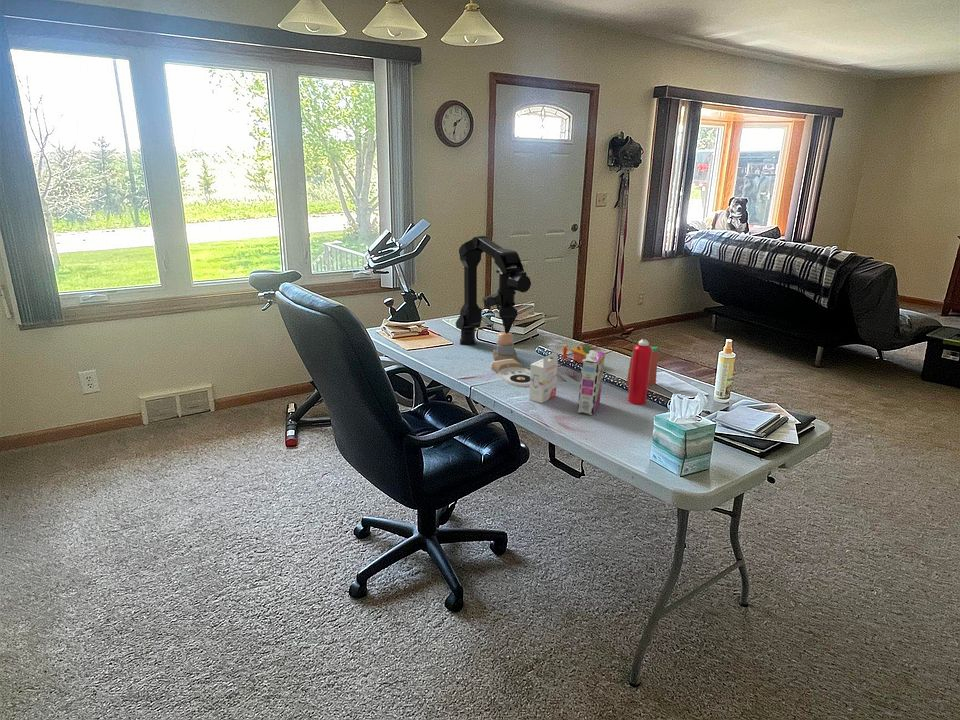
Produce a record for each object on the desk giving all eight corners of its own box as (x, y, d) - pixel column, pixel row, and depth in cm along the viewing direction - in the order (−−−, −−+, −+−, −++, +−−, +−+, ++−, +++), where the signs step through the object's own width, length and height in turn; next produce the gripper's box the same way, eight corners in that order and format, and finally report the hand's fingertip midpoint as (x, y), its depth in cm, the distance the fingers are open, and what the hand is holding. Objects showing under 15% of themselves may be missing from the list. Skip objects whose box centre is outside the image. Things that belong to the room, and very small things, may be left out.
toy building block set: (630, 391, 186) (634, 350, 181) (557, 361, 213) (559, 324, 209) (655, 384, 193) (660, 344, 188) (582, 356, 220) (584, 320, 215)
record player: (516, 357, 207) (546, 376, 190) (516, 365, 208) (545, 385, 191) (487, 362, 202) (515, 381, 185) (487, 370, 203) (514, 390, 186)
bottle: (643, 398, 181) (650, 336, 174) (648, 404, 175) (655, 342, 169) (626, 397, 181) (632, 336, 174) (630, 404, 175) (637, 341, 169)
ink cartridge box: (542, 391, 184) (545, 347, 179) (556, 395, 181) (559, 351, 177) (528, 399, 178) (530, 354, 173) (542, 403, 175) (544, 358, 170)
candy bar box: (594, 416, 167) (598, 363, 161) (577, 413, 168) (581, 360, 163) (601, 402, 177) (605, 351, 171) (584, 399, 178) (588, 349, 173)
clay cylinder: (497, 341, 213) (498, 331, 212) (511, 341, 213) (511, 331, 212) (498, 345, 208) (498, 335, 207) (512, 345, 208) (512, 335, 207)
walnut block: (493, 358, 216) (493, 349, 215) (514, 358, 217) (514, 349, 216) (494, 365, 209) (495, 356, 208) (516, 365, 209) (517, 356, 208)
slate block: (496, 350, 214) (496, 341, 213) (512, 350, 215) (512, 341, 214) (497, 355, 209) (497, 346, 208) (514, 355, 209) (514, 346, 208)
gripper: (482, 282, 212) (482, 323, 217) (485, 292, 194) (484, 337, 199) (513, 282, 212) (511, 323, 217) (518, 292, 194) (516, 337, 199)
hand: (505, 329), depth 208 cm, fingers open, 9 cm apart
